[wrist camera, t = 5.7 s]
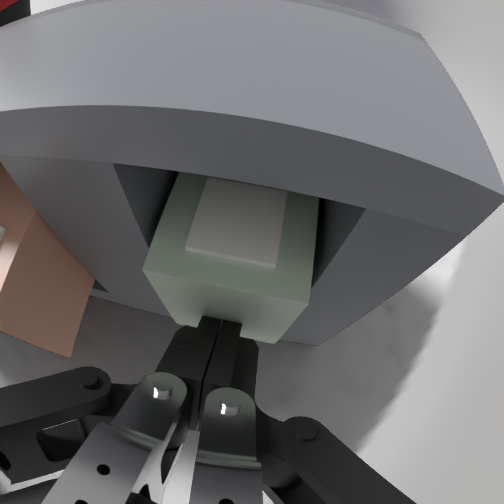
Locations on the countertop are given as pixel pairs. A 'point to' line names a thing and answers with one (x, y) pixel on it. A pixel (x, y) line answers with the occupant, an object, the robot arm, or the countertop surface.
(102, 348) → the countertop surface
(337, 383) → the countertop surface
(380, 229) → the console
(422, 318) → the countertop surface
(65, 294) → the key terracotta
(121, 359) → the countertop surface
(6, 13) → the cola bottle
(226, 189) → the key sage
